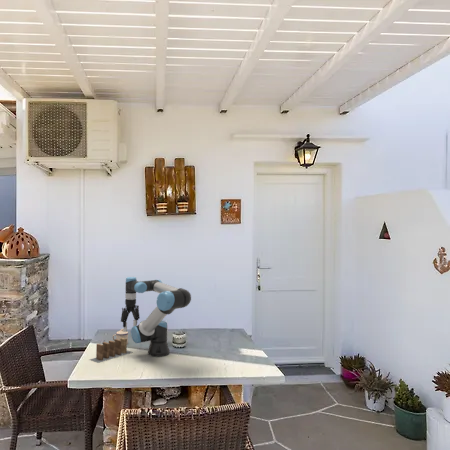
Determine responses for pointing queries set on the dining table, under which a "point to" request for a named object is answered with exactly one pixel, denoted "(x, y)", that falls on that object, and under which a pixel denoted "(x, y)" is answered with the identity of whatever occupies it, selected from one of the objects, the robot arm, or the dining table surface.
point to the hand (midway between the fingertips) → (130, 330)
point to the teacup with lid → (121, 335)
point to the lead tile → (123, 345)
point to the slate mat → (109, 357)
